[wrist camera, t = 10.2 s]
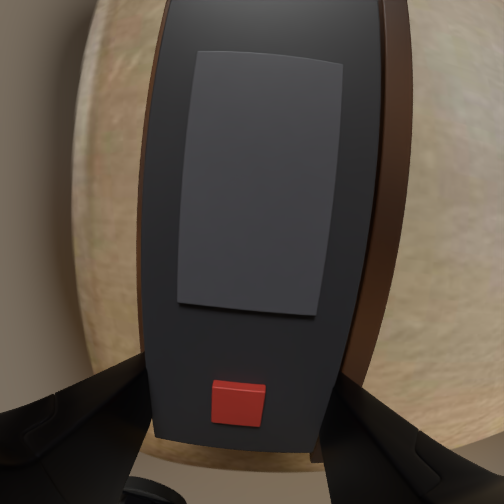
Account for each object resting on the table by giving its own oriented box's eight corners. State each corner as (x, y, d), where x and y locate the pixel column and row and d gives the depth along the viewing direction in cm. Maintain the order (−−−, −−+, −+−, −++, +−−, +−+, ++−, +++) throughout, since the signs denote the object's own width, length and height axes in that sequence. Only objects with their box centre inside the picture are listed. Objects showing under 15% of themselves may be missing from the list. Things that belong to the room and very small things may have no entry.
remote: (195, 9, 7) (175, -38, 4) (353, 24, 7) (381, -19, 4) (171, 393, 9) (151, 445, 7) (304, 406, 9) (314, 460, 7)
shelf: (306, 352, 17) (331, 463, 9) (182, 340, 17) (137, 443, 9) (342, 58, 13) (403, -25, 5) (205, 44, 13) (161, -49, 5)
